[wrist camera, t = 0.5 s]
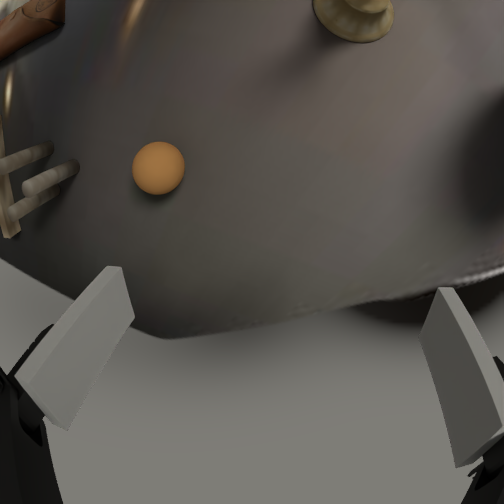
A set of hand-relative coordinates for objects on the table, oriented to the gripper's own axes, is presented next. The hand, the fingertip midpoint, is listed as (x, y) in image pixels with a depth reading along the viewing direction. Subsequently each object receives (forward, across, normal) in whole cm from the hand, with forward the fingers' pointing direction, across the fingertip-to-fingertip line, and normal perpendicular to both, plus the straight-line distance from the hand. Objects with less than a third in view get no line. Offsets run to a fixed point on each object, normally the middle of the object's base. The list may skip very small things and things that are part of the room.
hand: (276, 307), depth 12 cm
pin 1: (+22, -32, +5) cm, 38 cm away
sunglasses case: (+22, -36, +25) cm, 50 cm away
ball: (+19, -13, +1) cm, 23 cm away
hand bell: (+22, +6, +19) cm, 29 cm away
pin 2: (+22, -32, -1) cm, 38 cm away
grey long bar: (+22, -44, +2) cm, 49 cm away
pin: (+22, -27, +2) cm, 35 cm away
